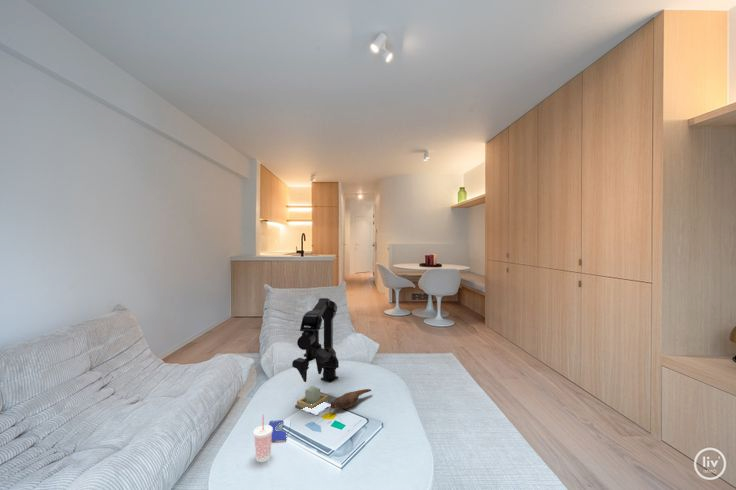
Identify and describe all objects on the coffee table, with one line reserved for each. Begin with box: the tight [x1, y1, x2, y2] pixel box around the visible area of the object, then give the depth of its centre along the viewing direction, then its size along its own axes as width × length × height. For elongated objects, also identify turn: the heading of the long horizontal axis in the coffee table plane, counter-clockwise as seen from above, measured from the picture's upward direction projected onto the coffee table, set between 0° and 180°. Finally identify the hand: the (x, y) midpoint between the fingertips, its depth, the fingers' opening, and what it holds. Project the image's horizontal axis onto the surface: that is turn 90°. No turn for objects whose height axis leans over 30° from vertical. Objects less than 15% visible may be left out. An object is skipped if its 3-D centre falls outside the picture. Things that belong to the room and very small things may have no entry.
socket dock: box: [294, 391, 338, 410], centre depth 139 cm, size 15×12×3 cm
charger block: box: [304, 385, 321, 404], centre depth 138 cm, size 4×5×6 cm
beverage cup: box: [252, 414, 273, 463], centre depth 105 cm, size 6×6×14 cm
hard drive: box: [268, 419, 288, 444], centre depth 119 cm, size 2×8×12 cm
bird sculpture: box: [328, 388, 372, 413], centre depth 138 cm, size 7×25×5 cm, turn 137°
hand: (312, 377), depth 138 cm, fingers open, 9 cm apart
